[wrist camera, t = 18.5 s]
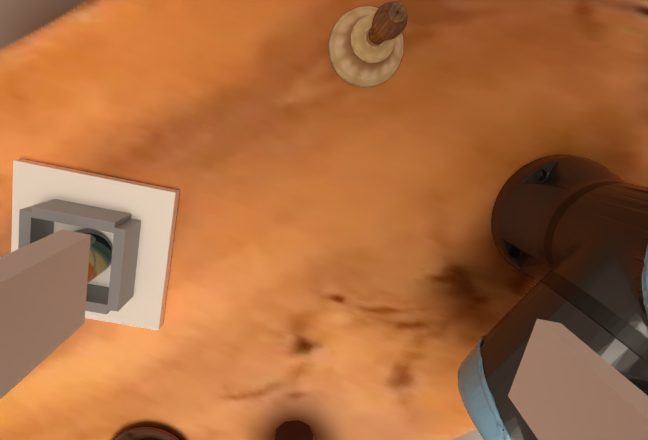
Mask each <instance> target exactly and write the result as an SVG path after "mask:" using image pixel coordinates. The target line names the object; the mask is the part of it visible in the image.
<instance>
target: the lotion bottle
mask: <svg viewBox="0 0 648 440" xmlns="http://www.w3.org/2000/svg"><path fill="white" fill-rule="evenodd" d="M74 232H79V233H84V234H89V235H91V239H90V253H89V267H88V281H87V283H89V282H90V281H91V280H93V279H94V278H95V277H97V276H98V275H100V274H101V273H102V272H103V271H105V270H106V269H107V268H108V267H109V266H110V264H111V260H112V248H113V247H112V245H111V243H110V241H109V240H108V238H107V237H106V236H105V235H103V234H102V233H100V232H98V231H96V230H93V229H80V230H77V231H74Z"/></svg>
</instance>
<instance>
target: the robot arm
mask: <svg viewBox="0 0 648 440" xmlns="http://www.w3.org/2000/svg"><path fill="white" fill-rule="evenodd" d="M492 234H493V238H494V241H495V244H496V246H497V248H498V250H499V252H500V253H501V254H502V256H503V257H504V258H505V259H506V260H507V261H508V262H509V263H510V264H512V265H513V266H515V267H516V268H517V269H519V270H520V271H522V272H523V273H525V274H527V275H529V276H532V277H534V278H538V279H542V280H540V281H539V282H538V283H537V284H536V285H535V286H534V287H533V288H532V289H531V290H530V291H529V292H528V293H527V294H526V295H525V296H524V297H523V298H522V299H521V300H520V301H519V302H518V303H517V304H516V305H515V306H514V307H513V308H512V309H511V310H510V311H509V312H508V313H507V314H506V315H505V316H504V317H503V318H502V319H501V320H500V321H499V322H498V323H497V324H496V325H495V326H494V327H493V328H492V329H491V331H490V332H489V333H488V334H487V335H485V336H482V337H481V338H480V339H479V341H478V343H477V346H476V347H475V348H474V349H473V351H472V352H471V353H470V354H469V355H468V356H467V357H466V358H465V360H464V361H463V362H462V363H461V365H460V367H459V370H458V388H459V392H460V395H461V398H462V401H463V403H464V406H465V408H466V410H467V412H468V414H469V416H470V418H471V419H472V421H473V423H474V425H475V426H476V428H477V429H478V431H479V433H480V434H481V436H482V437H483V439H484V440H648V187H643V186H638V185H633V184H627V183H625V182H624V181H622V180H621V179H620V178H619V177H617V176H616V175H615V174H614V173H612V172H611V171H610V170H609V169H607V168H606V167H604V166H603V165H601V164H599V163H597V162H595V161H592V160H589V159H586V158H581V157H575V156H568V155H555V156H549V157H545V158H541V159H539V160H536V161H534V162H532V163H530V164H528V165H526V166H525V167H523V168H522V169H520V170H519V171H518V172H517V173H515V174H514V175H513V176H512V177H511V178H510V179H509V180H508V182H507V183H506V184H505V186H504V187H503V188H502V190H501V192H500V193H499V195H498V197H497V200H496V202H495V205H494V209H493V213H492ZM90 239H91V235H89V234H84V233H79V232H73V231H68V230H63V229H62V230H60V231H58V232H55V233H53V234H51V235H49V236H47V237H44V238H42V239H40V240H38V241H35V242H33V243H31V244H29V245H26V246H24V247H22V248H20V249H18V250H15V251H13V252H11V253H9V254H6V255H4V256H2V257H0V399H1V398H2V397H3V396H4V395H6V394H7V393H8V392H9V391H10V390H11V389H12V388H13V387H14V386H16V385H17V384H18V383H19V382H20V381H21V380H22V379H23V378H24V377H26V376H27V375H28V374H29V373H30V372H31V371H32V370H33V369H34V368H35V367H37V366H38V365H39V364H40V363H41V362H42V361H43V360H44V359H45V358H47V357H48V356H49V355H50V354H51V353H52V352H53V351H54V350H55V349H57V348H58V347H59V346H60V345H61V344H62V343H63V342H64V341H65V340H67V339H68V338H69V337H70V336H71V335H72V334H73V333H74V332H75V331H77V330H78V329H79V328H80V327H81V326H82V325H83V324H84V322H85V308H86V294H87V281H88V267H89V253H90Z"/></svg>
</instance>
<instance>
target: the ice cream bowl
mask: <svg viewBox="0 0 648 440" xmlns="http://www.w3.org/2000/svg"><path fill="white" fill-rule="evenodd" d="M313 436H314V434H313V432H312V431H311V429H310V427H309V425H306V424H304V423H302V422H300V421H290V422H285V423H284V424H283V425H281V426H280V427H279V428H278V429H277V430H276V435H275V440H313Z"/></svg>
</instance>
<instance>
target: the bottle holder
mask: <svg viewBox="0 0 648 440" xmlns="http://www.w3.org/2000/svg"><path fill="white" fill-rule="evenodd" d="M179 193H180V190H175V189H170V188H165V187H160V186H155V185H150V184H145V183H140V182H135V181H130V180H125V179H120V178H115V177H110V176H105V175H100V174H95V173H90V172H85V171H80V170H75V169H70V168H65V167H60V166H55V165H50V164H45V163H40V162H35V161H30V160H25V159H19V160H13V200H12V246H11V252H13V251H15V250H18V249H20V248H22V247H24V246H26V245H29V244H31V243H33V242H35V241H38V240H40V239H42V238H44V237H47V236H49V235H51V234H53V233H55V232H58V231H60V230H62V229H63V230H68V231H73V232H74V231H77V230H80V229H93V230H96V231H98V232H100V233H102V234H103V235H105V236H106V237H107V238H108V240H109V241H110V243H111V245H112V247H113V248H112V260H111V264H110V266H109V267H108V268H107V269H106V270H105V271H103V272H102V273H101V274H100V275H98V276H97V277H95V278H94V279H93V280H91V281H90V282H89V283H87V294H86V308H85V318H88V319H94V320H100V321H106V322H111V323H117V324H123V325H129V326H135V327H140V328H146V329H152V330H158V331H159V329H160V328H161V327H162V325H163V320H164V312H165V304H166V296H167V288H168V280H169V272H170V264H171V256H172V248H173V240H174V232H175V224H176V216H177V208H178V200H179Z"/></svg>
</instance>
